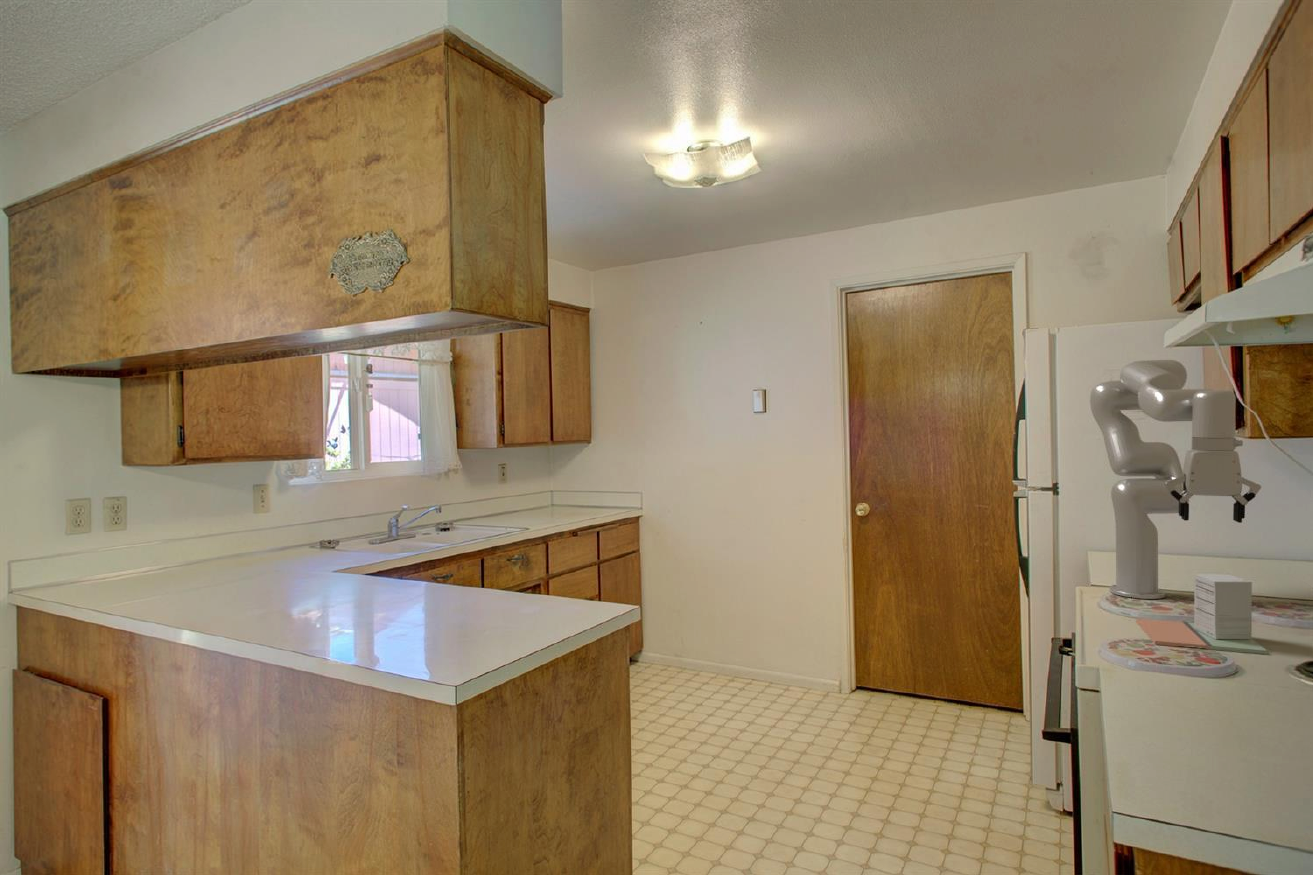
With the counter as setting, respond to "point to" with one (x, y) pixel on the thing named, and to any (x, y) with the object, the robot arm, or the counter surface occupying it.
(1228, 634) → the supplement box
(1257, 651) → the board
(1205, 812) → the counter surface
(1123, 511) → the robot arm
